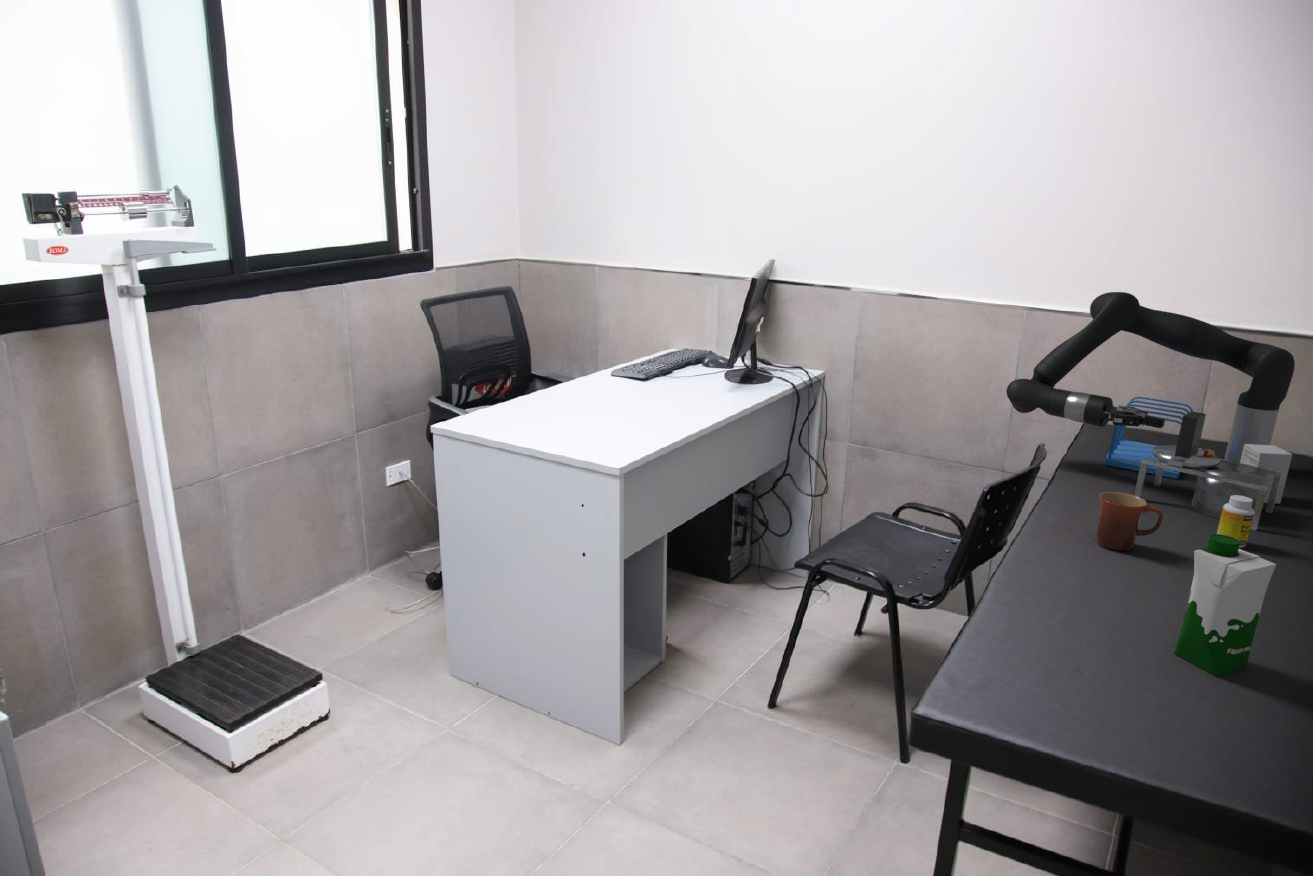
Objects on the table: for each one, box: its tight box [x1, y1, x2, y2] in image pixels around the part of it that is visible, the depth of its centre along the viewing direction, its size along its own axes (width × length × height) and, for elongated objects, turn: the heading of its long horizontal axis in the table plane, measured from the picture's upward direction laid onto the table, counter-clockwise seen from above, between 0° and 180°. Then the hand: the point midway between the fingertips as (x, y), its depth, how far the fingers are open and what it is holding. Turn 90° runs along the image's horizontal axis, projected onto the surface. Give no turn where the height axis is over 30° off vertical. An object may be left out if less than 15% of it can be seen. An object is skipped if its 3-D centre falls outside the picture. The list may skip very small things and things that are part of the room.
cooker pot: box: [1134, 458, 1282, 532], centre depth 203 cm, size 25×16×10 cm, turn 45°
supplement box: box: [1240, 444, 1293, 504], centre depth 210 cm, size 7×7×13 cm
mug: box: [1095, 491, 1164, 552], centre depth 178 cm, size 12×9×10 cm
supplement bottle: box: [1216, 495, 1255, 549], centre depth 182 cm, size 6×6×10 cm
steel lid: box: [1152, 410, 1221, 469], centre depth 204 cm, size 14×16×11 cm
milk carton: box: [1173, 533, 1277, 677], centre depth 134 cm, size 9×9×20 cm
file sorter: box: [1103, 396, 1194, 480], centre depth 235 cm, size 25×17×15 cm
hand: (1163, 423), depth 207 cm, fingers closed
